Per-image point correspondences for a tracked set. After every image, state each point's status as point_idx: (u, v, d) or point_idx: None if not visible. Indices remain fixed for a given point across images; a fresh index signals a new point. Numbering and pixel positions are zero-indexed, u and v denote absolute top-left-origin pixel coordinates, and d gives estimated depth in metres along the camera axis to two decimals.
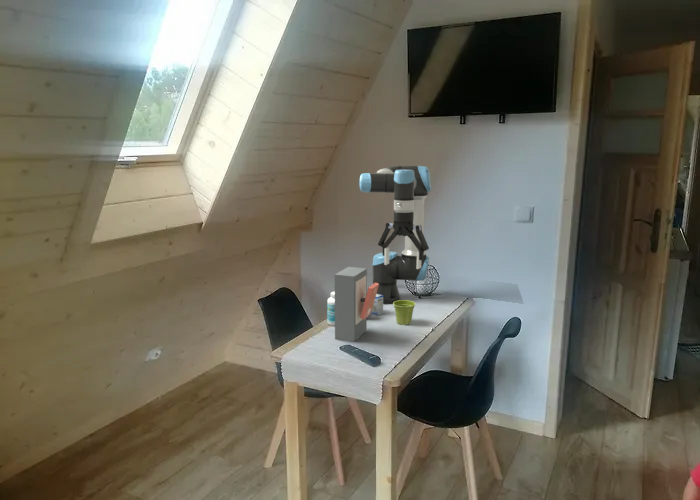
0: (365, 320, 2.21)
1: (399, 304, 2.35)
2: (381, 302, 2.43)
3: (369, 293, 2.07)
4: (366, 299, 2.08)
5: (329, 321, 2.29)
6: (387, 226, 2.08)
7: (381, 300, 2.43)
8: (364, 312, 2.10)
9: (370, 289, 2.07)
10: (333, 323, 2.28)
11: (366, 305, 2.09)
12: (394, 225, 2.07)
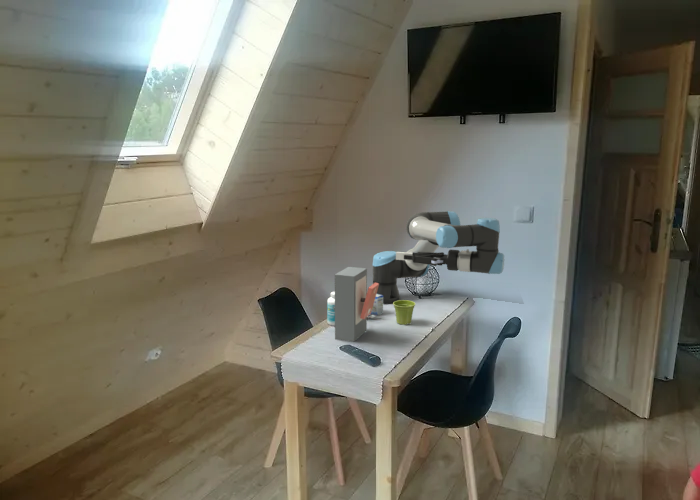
0: (365, 320, 2.21)
1: (399, 304, 2.35)
2: (381, 302, 2.43)
3: (369, 293, 2.07)
4: (366, 299, 2.08)
5: (329, 321, 2.29)
6: (440, 253, 2.03)
7: (381, 300, 2.43)
8: (364, 312, 2.10)
9: (370, 289, 2.07)
10: (333, 323, 2.28)
11: (366, 305, 2.09)
12: (445, 254, 2.01)
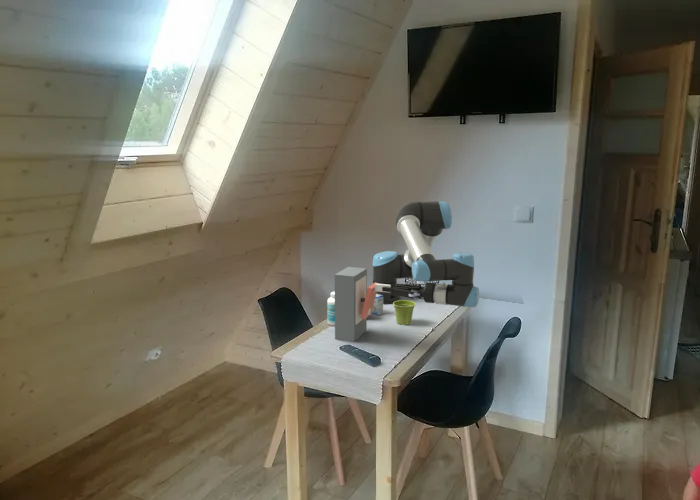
0: (365, 320, 2.21)
1: (399, 304, 2.35)
2: (381, 302, 2.43)
3: (369, 293, 2.07)
4: (366, 299, 2.08)
5: (329, 321, 2.29)
6: (418, 284, 2.09)
7: (381, 300, 2.43)
8: (364, 312, 2.10)
9: (370, 289, 2.07)
10: (333, 323, 2.28)
11: (366, 305, 2.09)
12: None
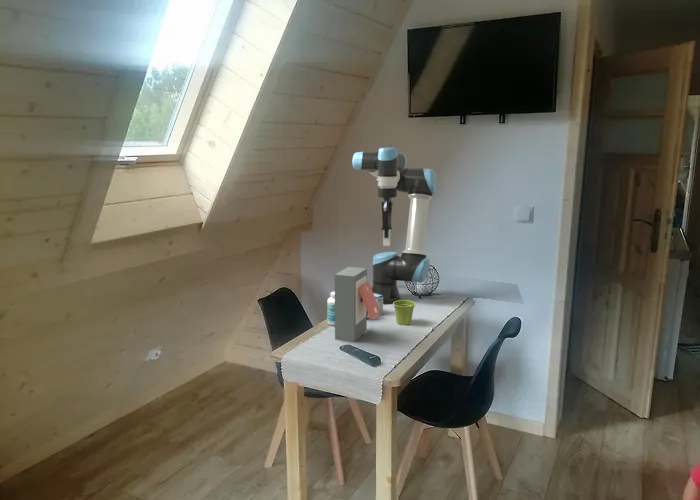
0: (365, 320, 2.21)
1: (399, 304, 2.35)
2: (381, 302, 2.43)
3: (362, 292, 2.08)
4: (363, 299, 2.09)
5: (329, 321, 2.29)
6: None
7: (381, 300, 2.43)
8: (370, 312, 2.09)
9: (360, 288, 2.08)
10: (333, 323, 2.28)
11: (367, 305, 2.09)
12: None
